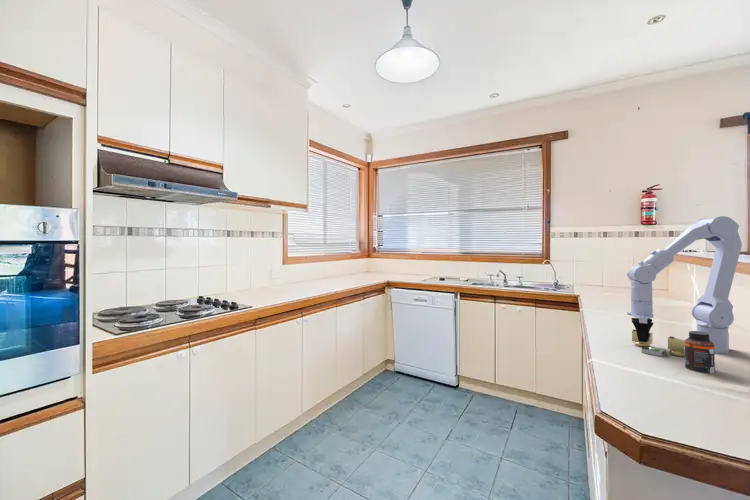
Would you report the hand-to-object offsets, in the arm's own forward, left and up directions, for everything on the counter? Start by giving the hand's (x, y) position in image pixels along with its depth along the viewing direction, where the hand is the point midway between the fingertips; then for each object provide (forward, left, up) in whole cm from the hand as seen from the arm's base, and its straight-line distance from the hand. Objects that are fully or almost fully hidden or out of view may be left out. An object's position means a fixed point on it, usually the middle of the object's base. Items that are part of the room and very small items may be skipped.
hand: (642, 340), depth 114 cm
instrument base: (+4, +5, -3) cm, 7 cm away
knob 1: (0, 0, -2) cm, 2 cm away
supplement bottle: (+14, +17, -3) cm, 22 cm away
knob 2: (+3, +10, -2) cm, 11 cm away
